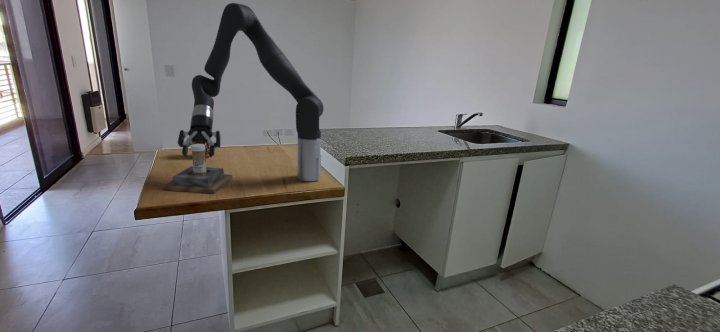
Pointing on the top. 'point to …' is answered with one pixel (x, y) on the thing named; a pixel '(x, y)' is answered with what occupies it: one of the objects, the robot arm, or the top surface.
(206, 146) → the canned food
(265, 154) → the top surface
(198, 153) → the sprinkles bottle
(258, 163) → the top surface
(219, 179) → the socket board
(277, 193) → the top surface
